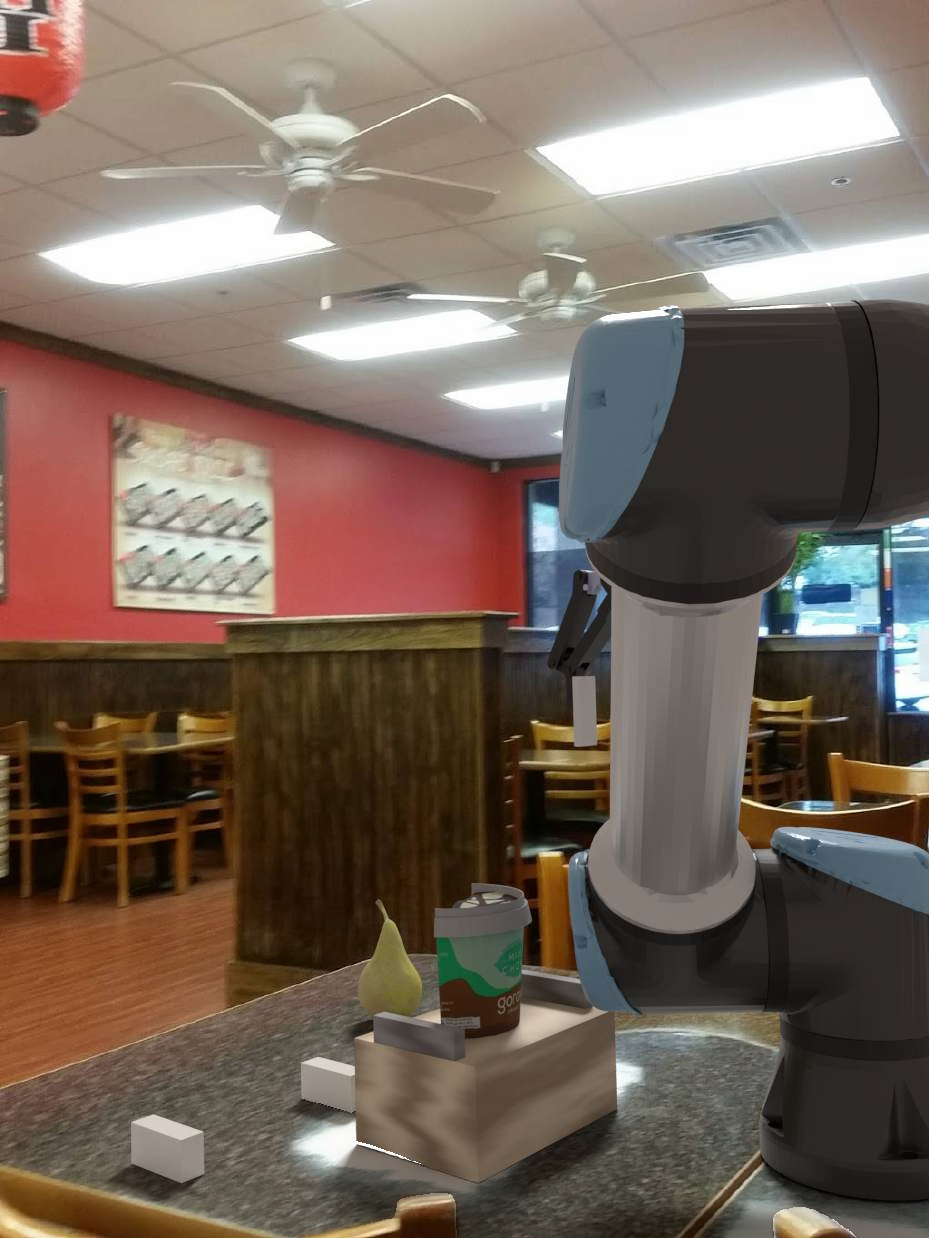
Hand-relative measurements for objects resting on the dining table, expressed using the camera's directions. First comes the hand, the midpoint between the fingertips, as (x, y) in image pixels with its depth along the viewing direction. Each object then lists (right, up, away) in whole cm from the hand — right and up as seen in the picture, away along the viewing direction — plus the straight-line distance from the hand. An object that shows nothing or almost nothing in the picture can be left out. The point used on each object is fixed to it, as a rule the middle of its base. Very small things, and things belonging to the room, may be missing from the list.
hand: (648, 747), depth 109 cm
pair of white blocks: (-33, -29, -14) cm, 46 cm away
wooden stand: (-14, -28, -13) cm, 35 cm away
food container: (-14, -21, -13) cm, 28 cm away
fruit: (-24, -30, +17) cm, 42 cm away
